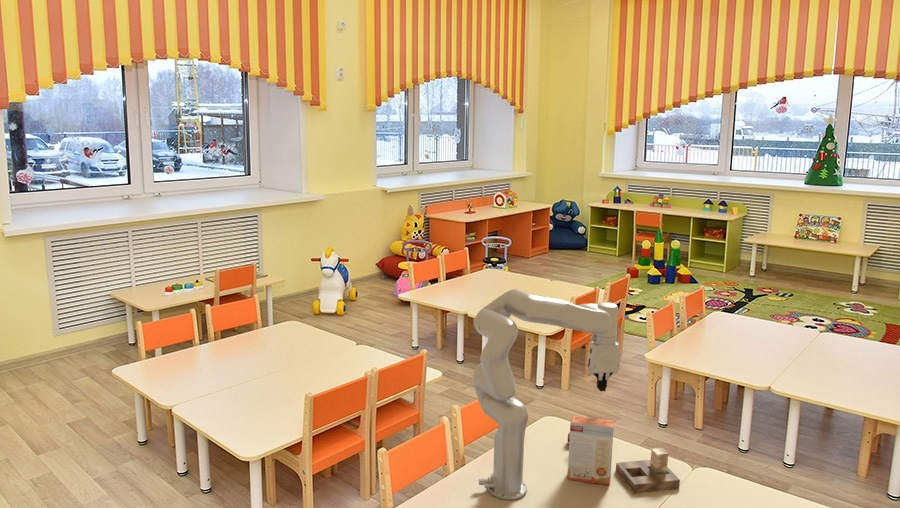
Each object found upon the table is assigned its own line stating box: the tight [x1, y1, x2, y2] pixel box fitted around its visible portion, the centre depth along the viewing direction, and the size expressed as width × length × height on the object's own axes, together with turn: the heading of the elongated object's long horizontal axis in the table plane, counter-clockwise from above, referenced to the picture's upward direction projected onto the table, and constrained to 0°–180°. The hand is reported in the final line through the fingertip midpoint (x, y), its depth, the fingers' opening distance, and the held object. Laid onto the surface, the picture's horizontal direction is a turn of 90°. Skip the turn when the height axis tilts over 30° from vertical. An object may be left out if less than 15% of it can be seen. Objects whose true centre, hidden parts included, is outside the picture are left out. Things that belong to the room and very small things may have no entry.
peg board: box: [615, 459, 681, 494], centre depth 237 cm, size 16×14×3 cm
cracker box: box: [567, 415, 615, 486], centre depth 235 cm, size 14×6×21 cm, turn 74°
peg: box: [650, 447, 669, 475], centre depth 237 cm, size 4×4×10 cm
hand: (601, 389), depth 242 cm, fingers closed
